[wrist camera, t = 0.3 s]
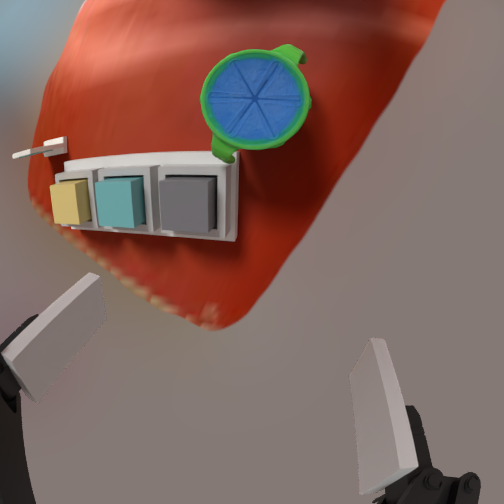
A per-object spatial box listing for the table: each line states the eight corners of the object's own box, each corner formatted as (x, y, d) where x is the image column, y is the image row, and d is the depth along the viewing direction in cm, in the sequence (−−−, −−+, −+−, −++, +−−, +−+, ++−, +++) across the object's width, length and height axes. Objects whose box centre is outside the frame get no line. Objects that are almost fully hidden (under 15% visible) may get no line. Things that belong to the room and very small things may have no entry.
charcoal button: (172, 175, 34) (158, 181, 30) (217, 176, 33) (207, 181, 29) (174, 220, 36) (161, 229, 32) (217, 223, 35) (208, 233, 32)
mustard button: (66, 180, 36) (49, 185, 32) (91, 178, 35) (74, 183, 32) (70, 215, 38) (54, 223, 35) (95, 216, 38) (79, 224, 34)
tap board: (71, 160, 38) (51, 164, 34) (239, 151, 35) (231, 153, 30) (78, 225, 43) (60, 234, 38) (237, 236, 40) (229, 250, 35)
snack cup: (256, 177, 36) (243, 191, 27) (197, 129, 34) (164, 128, 25) (334, 93, 30) (349, 76, 21) (271, 44, 28) (263, 14, 19)
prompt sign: (47, 141, 37) (12, 147, 29) (67, 136, 36) (30, 141, 28) (47, 156, 38) (13, 165, 30) (67, 152, 38) (30, 160, 29)
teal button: (111, 177, 35) (94, 182, 31) (146, 176, 34) (130, 181, 30) (114, 217, 37) (99, 225, 33) (148, 218, 36) (134, 228, 33)
